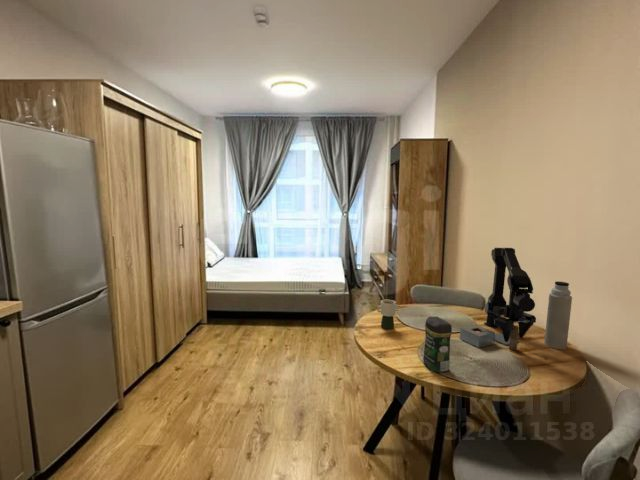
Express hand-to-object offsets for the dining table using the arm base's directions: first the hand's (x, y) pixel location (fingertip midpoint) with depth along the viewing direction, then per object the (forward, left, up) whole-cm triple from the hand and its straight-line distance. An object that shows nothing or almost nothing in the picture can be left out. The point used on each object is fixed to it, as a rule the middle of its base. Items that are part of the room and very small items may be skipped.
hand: (513, 339), depth 141 cm
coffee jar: (+41, -2, -4) cm, 41 cm away
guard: (+7, -12, -4) cm, 14 cm away
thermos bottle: (-21, +5, -4) cm, 22 cm away
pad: (-5, -8, -4) cm, 10 cm away
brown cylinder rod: (0, 0, -4) cm, 4 cm away
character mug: (+34, -41, -4) cm, 53 cm away
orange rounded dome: (+7, -12, -2) cm, 14 cm away
